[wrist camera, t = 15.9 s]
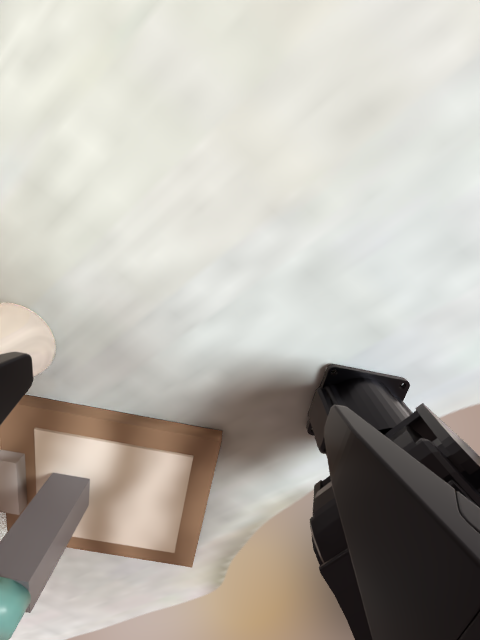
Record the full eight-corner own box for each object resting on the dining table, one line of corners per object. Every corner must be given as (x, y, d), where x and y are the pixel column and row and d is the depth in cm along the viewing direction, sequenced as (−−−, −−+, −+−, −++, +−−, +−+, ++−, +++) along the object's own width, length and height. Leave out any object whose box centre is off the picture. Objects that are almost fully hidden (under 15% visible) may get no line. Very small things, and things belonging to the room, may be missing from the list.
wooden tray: (222, 431, 25) (220, 450, 23) (193, 554, 30) (190, 579, 28) (8, 391, 24) (-14, 408, 22) (17, 525, 30) (0, 548, 27)
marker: (89, 506, 27) (13, 647, 18) (51, 499, 26) (-44, 639, 18) (91, 478, 25) (10, 614, 17) (51, 471, 25) (-51, 605, 17)
